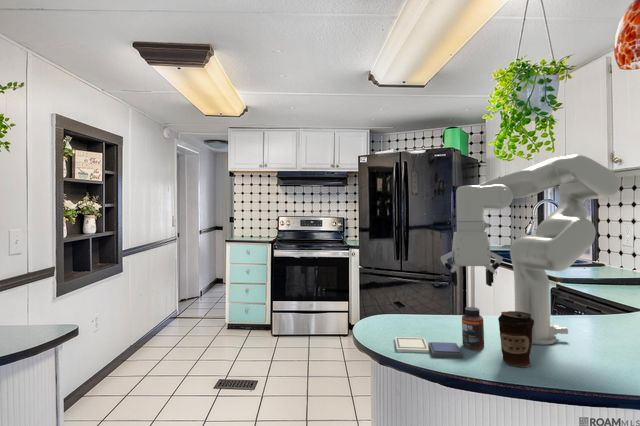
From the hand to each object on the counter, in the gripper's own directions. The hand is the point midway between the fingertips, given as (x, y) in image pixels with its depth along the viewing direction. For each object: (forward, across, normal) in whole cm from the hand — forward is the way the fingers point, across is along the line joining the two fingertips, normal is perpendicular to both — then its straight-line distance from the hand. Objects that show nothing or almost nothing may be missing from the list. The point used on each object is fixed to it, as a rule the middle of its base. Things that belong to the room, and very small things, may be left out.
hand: (471, 285), depth 108 cm
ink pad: (+18, +9, +5) cm, 21 cm away
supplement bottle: (+18, 0, 0) cm, 18 cm away
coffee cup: (+18, -8, +11) cm, 23 cm away
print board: (+18, +18, +1) cm, 26 cm away
